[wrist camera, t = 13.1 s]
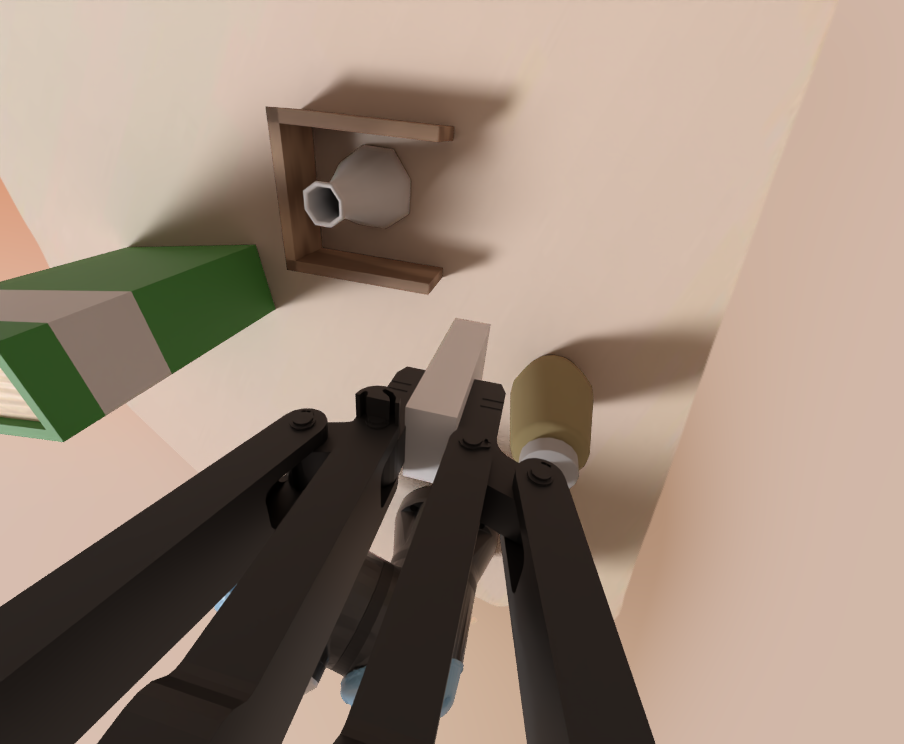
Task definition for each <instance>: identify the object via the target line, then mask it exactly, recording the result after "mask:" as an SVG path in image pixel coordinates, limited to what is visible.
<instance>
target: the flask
mask: <svg viewBox="0 0 904 744" xmlns="http://www.w3.org/2000/svg"><path fill="white" fill-rule="evenodd" d="M410 188H411V180H410V178H409V176H408V174H407V173H406V171H405V169H404V167H403V165H402V164H401V162H400V160H399V158H398V156H397V155H396V153H395V151H394V149H390V148H383V147H375V146H368V145H362V146H361V147H359V148H358V149H357V150H355V151H354V152H353V153H352V154H350V155H349V156H348V157H347V158H345V159H344V160H343V161H342V162H340V163H339V165H338V167H337V169H336V172H335V174H334V176H333V177H332V179H331V181H330V182H329V183H328V182H321V181H315V182H314V183H312V184H311V185H310V186H308V187H307V188H306V189H305V190H303V196H304V207H305V211H306V212H307V214H308V215H309V217H310V218H311V219H312V221H313V222H314V224H315V225H318V226H324V227H330V228H332V227H333V226H335V225H336V224H338V223H339V222H341V221H342V220H343V219H348V220H350V221H352V222H354V223H357V224H361V225H367V226H373V227H379V228H385V229H386V228H388V227H390V226H391V225H393V224H394V223H396V222H397V221H399V220H400V219H402V218H403V217H405V216H407V215H408V214H409V211H410Z"/></svg>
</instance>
